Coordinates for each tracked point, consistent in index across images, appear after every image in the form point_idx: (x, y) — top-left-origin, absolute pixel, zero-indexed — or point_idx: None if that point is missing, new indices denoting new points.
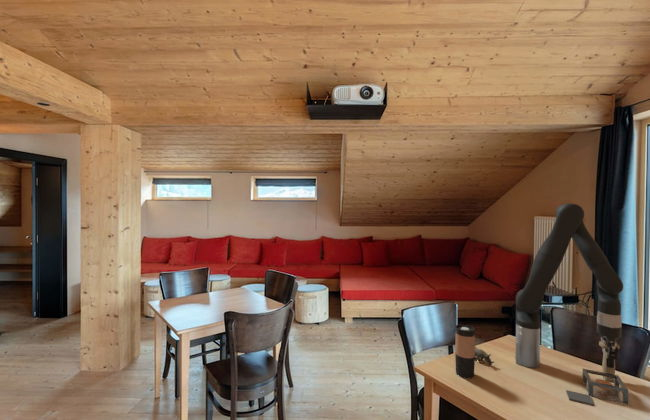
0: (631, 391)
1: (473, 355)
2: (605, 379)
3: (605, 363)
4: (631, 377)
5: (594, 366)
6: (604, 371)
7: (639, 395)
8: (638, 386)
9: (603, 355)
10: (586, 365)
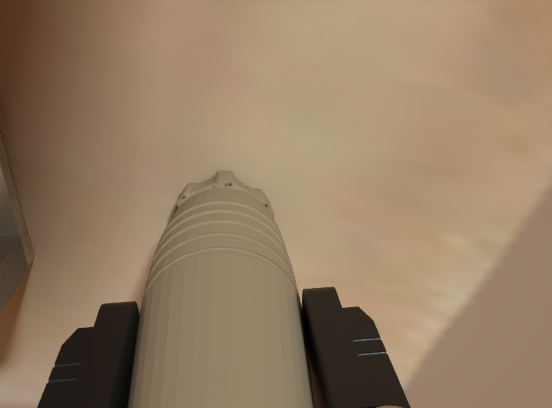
0: None
1: None
2: (190, 184)
3: (154, 310)
4: None
5: (533, 132)
6: (178, 221)
7: (25, 381)
8: None
9: (202, 393)
10: (534, 46)
